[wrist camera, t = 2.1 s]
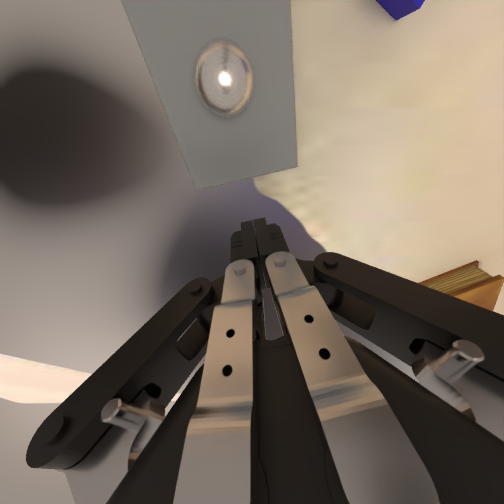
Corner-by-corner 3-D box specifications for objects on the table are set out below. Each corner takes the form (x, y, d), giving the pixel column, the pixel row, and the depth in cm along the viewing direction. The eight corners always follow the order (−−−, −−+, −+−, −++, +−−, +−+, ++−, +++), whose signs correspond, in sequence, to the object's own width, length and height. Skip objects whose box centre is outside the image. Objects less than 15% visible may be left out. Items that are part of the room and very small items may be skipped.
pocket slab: (-59, -483, 8) (-112, -590, 6) (251, -638, 7) (255, -790, 6) (197, 186, 25) (196, 190, 24) (294, 163, 24) (297, 166, 23)
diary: (377, 332, 56) (390, 352, 52) (364, 302, 46) (378, 323, 41) (466, 301, 50) (490, 321, 45) (474, 258, 39) (506, 278, 35)
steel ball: (189, 54, 16) (176, 38, 13) (245, 38, 16) (249, 17, 12) (209, 121, 20) (203, 126, 16) (256, 110, 19) (262, 111, 15)
